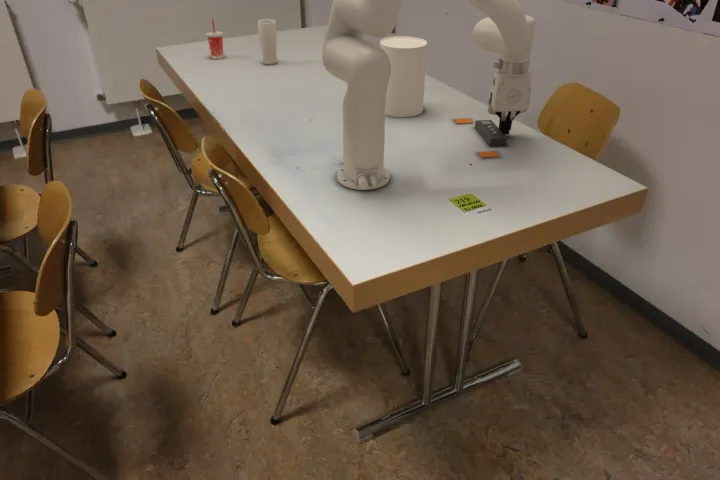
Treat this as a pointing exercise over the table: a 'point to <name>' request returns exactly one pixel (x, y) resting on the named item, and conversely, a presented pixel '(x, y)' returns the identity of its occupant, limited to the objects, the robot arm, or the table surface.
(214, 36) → the beverage cup
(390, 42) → the canister
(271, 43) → the drinking glass
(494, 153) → the tiles
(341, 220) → the table surface
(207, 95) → the table surface
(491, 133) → the remote
